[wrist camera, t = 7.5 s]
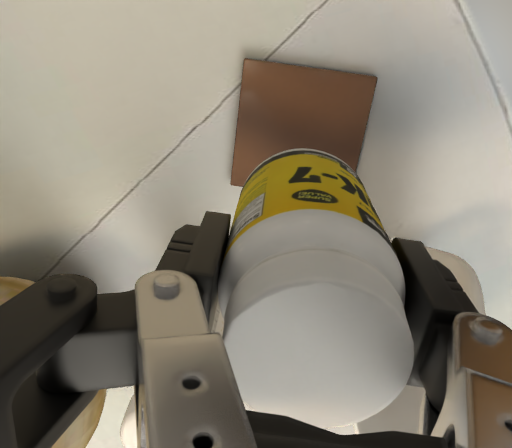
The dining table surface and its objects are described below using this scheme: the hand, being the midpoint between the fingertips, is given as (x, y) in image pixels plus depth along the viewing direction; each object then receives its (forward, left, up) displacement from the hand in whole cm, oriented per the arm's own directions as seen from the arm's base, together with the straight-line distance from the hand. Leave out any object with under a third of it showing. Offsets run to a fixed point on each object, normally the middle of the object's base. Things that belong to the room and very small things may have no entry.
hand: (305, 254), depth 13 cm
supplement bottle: (0, 0, -4) cm, 4 cm away
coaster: (0, 0, -17) cm, 17 cm away
